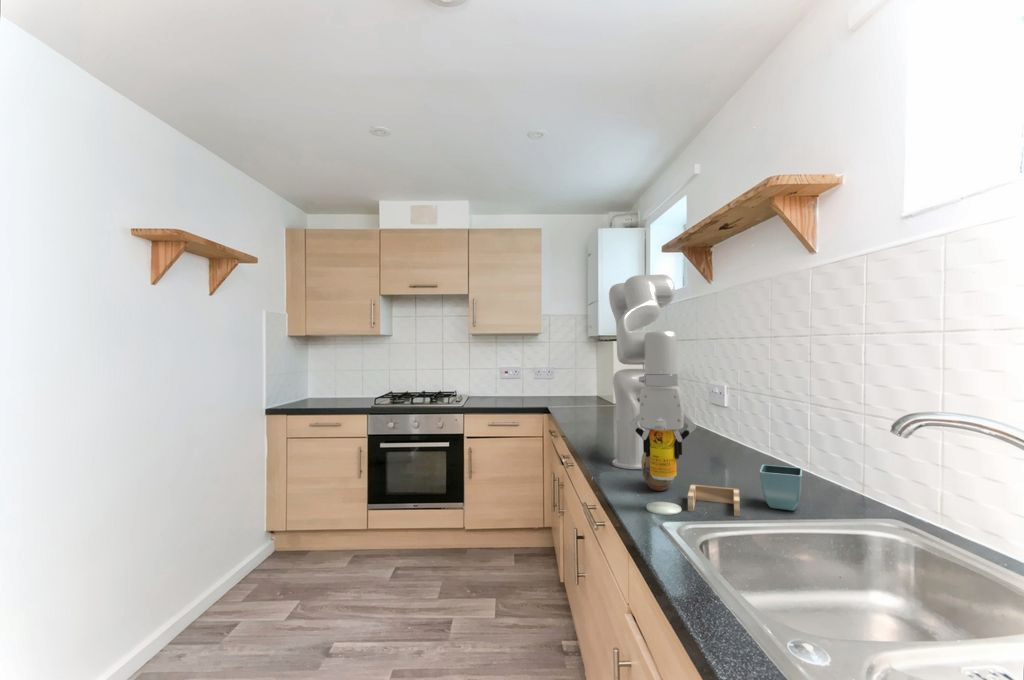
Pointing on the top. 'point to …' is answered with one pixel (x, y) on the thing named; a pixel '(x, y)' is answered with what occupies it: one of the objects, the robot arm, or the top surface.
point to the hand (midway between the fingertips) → (662, 456)
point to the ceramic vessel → (652, 483)
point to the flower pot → (781, 486)
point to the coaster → (664, 508)
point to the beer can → (662, 451)
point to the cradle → (714, 496)
